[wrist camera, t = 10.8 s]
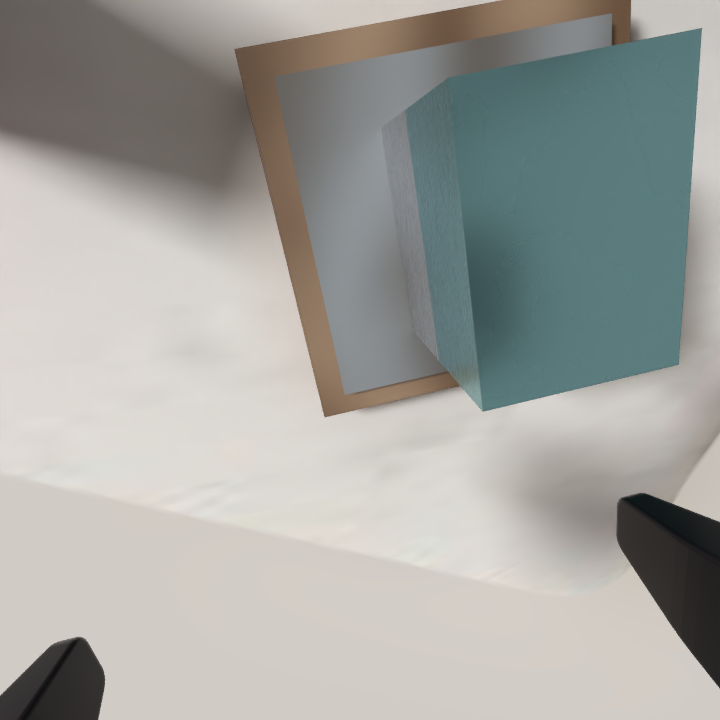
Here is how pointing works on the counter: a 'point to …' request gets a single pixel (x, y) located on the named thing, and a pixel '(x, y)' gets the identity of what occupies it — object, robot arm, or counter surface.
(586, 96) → the teal and white box
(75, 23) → the counter surface
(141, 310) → the counter surface
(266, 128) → the square wooden frame
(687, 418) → the counter surface
